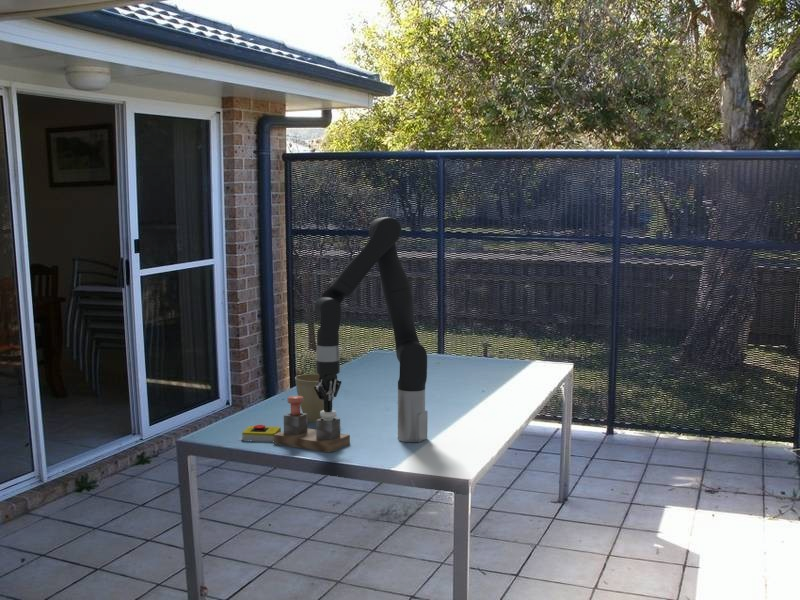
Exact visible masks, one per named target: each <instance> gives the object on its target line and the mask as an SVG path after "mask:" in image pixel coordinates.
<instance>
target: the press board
mask: <svg viewBox="0 0 800 600" xmlns="http://www.w3.org/2000/svg"><path fill="white" fill-rule="evenodd" d="M315 423H316V425H315V427H316V429H315V428H314V429H313V428H308V421H307V414H306V413H303V412H300V416H291V412H289V413H286V414H284V415H283V430H282V431H281V432H279V433H277V434H274V442H273V444H274V443H276V445H280V444H281V445H280V446H286V445H287V447H293V448H297V449H306V450H310V451H316V452H317V451H318V452H321V453H322V452H323V453H330V452H331V453H333V452H335V451H337V450H339V449H341V447H342V448H344V447H346V446H348V445H350V443H351V435H350V434H347V433H346V434H345V433H341V418H339V417H334V418H333V420H332V421H324V420H323V418H320V419H318V420H316V422H315ZM343 446H344V447H343ZM332 451H333V452H332Z"/></svg>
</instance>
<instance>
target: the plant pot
mask: <svg viewBox="0 0 800 600" xmlns="http://www.w3.org/2000/svg"><path fill="white" fill-rule="evenodd" d="M294 381H295V387H296V393H297V396H303V402H302V403H300V410H301V413H306V414H307V422H309V423H310V422H311V423H316V420H318V419H320V418H322V417H320V411H322V410H324V400H321V399H319V397H318V395H317V393H316V391H315V389H314V386H318V384H319V374H317V373H304V374H300V375H297V376H295V377H294Z"/></svg>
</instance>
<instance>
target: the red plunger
mask: <svg viewBox="0 0 800 600" xmlns="http://www.w3.org/2000/svg"><path fill="white" fill-rule="evenodd" d="M302 402H303V396H298V395H290V396H287V404H290V413H291V416H300V413H301V406H300V403H302Z"/></svg>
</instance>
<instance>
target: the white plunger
mask: <svg viewBox="0 0 800 600" xmlns="http://www.w3.org/2000/svg"><path fill="white" fill-rule="evenodd" d="M320 417H322V418H323V420H324V421H332V420H333V418H337V410H334V409H332V411H331V412H325V411H324V410H322V411H320Z"/></svg>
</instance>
